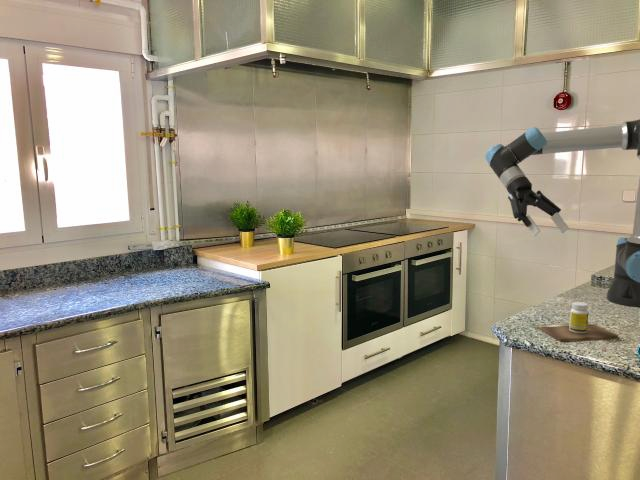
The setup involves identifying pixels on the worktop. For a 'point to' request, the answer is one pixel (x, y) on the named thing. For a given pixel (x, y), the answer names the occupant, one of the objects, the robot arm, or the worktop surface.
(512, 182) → the robot arm
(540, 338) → the worktop surface
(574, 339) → the walnut board
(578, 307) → the supplement bottle
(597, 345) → the worktop surface
